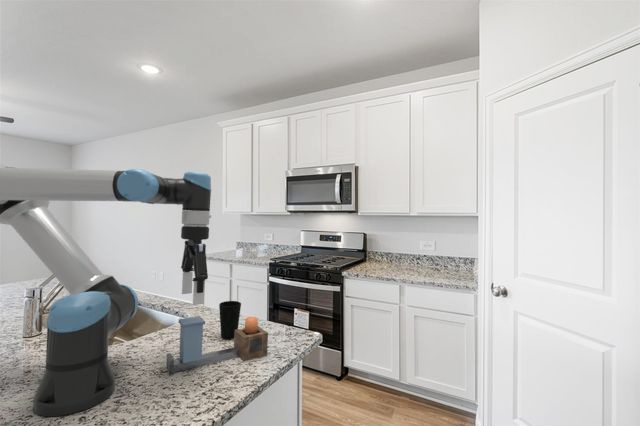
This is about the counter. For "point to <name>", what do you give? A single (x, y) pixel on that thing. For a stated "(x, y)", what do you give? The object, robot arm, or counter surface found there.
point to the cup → (229, 318)
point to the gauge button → (251, 325)
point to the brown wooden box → (251, 343)
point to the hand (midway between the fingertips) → (192, 298)
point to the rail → (206, 359)
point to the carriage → (191, 339)
